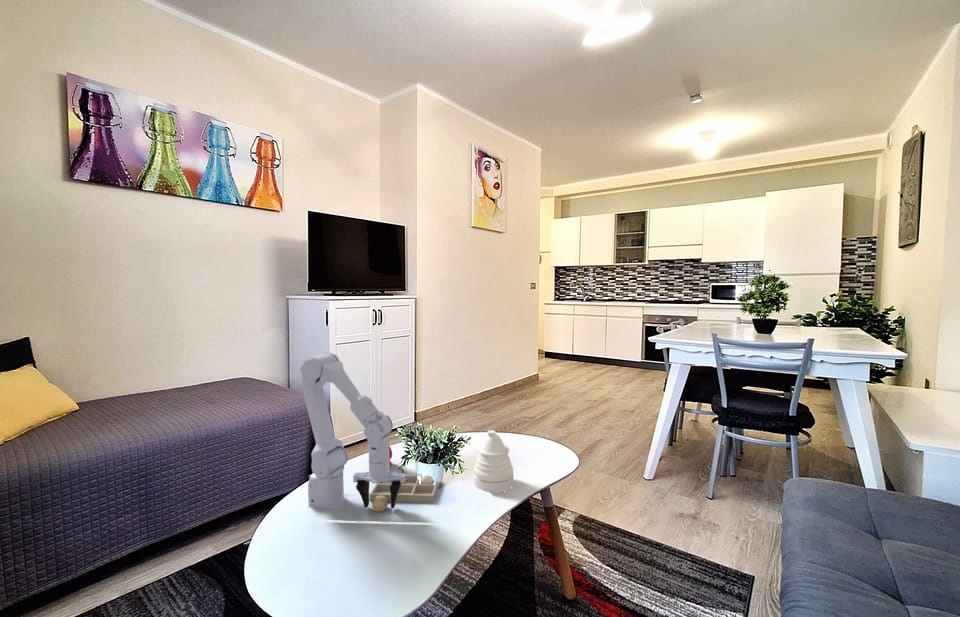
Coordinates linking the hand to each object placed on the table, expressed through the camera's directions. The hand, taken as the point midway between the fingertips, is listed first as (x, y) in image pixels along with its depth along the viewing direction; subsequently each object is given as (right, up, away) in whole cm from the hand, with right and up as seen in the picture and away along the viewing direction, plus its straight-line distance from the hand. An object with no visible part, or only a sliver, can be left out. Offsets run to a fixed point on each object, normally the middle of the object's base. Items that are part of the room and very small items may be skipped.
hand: (380, 506), depth 119 cm
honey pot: (+33, -1, +16) cm, 37 cm away
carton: (+6, -1, +11) cm, 12 cm away
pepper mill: (-6, 0, +29) cm, 30 cm away
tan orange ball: (0, -1, 0) cm, 1 cm away
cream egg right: (+12, 0, +13) cm, 18 cm away
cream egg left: (0, 0, +14) cm, 14 cm away
